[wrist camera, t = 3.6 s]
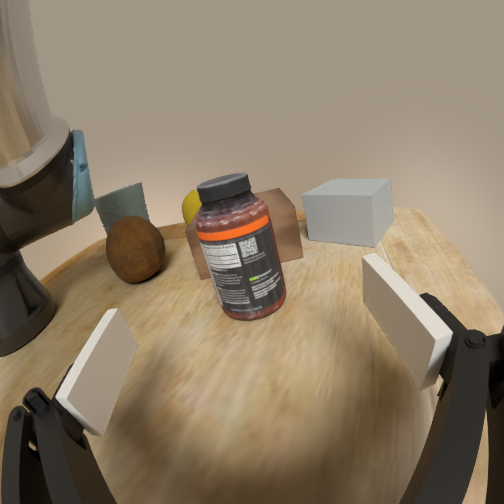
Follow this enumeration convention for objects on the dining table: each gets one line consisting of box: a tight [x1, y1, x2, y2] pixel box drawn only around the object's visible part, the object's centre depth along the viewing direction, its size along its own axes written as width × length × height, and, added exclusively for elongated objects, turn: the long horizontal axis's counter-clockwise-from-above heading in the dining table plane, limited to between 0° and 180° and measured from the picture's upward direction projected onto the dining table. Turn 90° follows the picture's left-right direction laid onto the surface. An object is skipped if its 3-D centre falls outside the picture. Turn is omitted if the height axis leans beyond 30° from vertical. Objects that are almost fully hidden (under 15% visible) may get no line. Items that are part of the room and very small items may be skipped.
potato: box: [106, 216, 165, 283], centre depth 35 cm, size 8×12×9 cm
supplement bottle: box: [195, 173, 286, 320], centre depth 22 cm, size 6×6×11 cm
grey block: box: [302, 179, 394, 247], centre depth 33 cm, size 9×9×6 cm
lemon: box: [182, 190, 202, 226], centre depth 46 cm, size 6×6×8 cm
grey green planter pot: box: [94, 182, 150, 234], centre depth 48 cm, size 10×10×12 cm
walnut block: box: [185, 188, 303, 280], centre depth 35 cm, size 12×12×6 cm
